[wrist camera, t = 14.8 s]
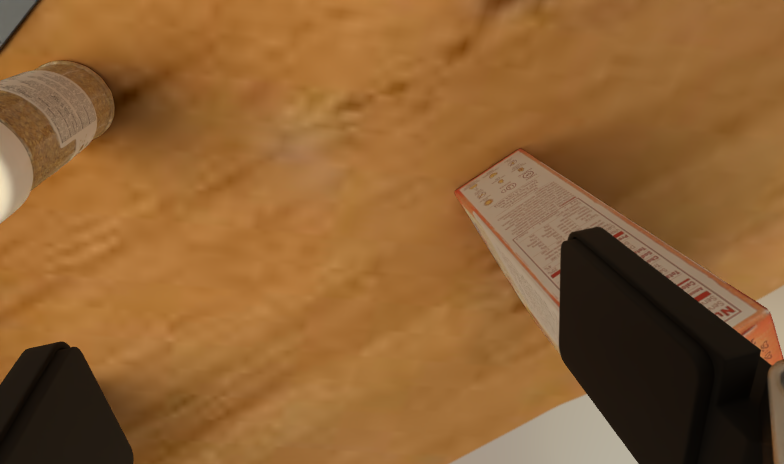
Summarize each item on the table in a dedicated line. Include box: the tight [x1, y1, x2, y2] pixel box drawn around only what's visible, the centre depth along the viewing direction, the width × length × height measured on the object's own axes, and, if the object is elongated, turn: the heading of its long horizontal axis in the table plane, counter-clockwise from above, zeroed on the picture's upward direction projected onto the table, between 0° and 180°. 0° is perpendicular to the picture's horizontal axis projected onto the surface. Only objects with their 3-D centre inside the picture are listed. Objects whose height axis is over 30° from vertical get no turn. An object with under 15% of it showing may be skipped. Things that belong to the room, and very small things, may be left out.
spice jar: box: [0, 61, 115, 223], centre depth 23 cm, size 5×5×13 cm
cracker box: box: [454, 149, 783, 365], centre depth 30 cm, size 14×6×21 cm, turn 32°
